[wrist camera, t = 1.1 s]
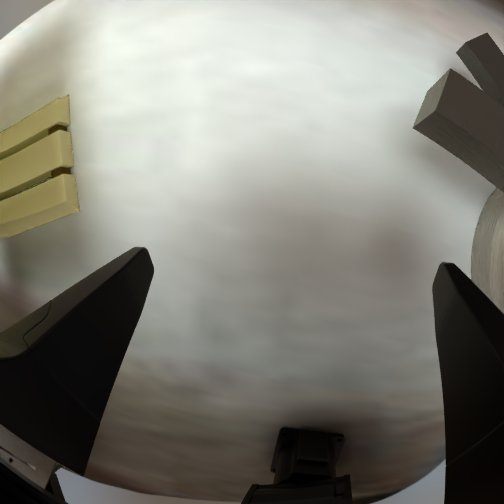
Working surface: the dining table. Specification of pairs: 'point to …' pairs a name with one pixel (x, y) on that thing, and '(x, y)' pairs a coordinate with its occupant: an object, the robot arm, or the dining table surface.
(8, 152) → the slatted curved stool
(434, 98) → the pressure cooker lid
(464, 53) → the pressure cooker pot
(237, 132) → the dining table surface
